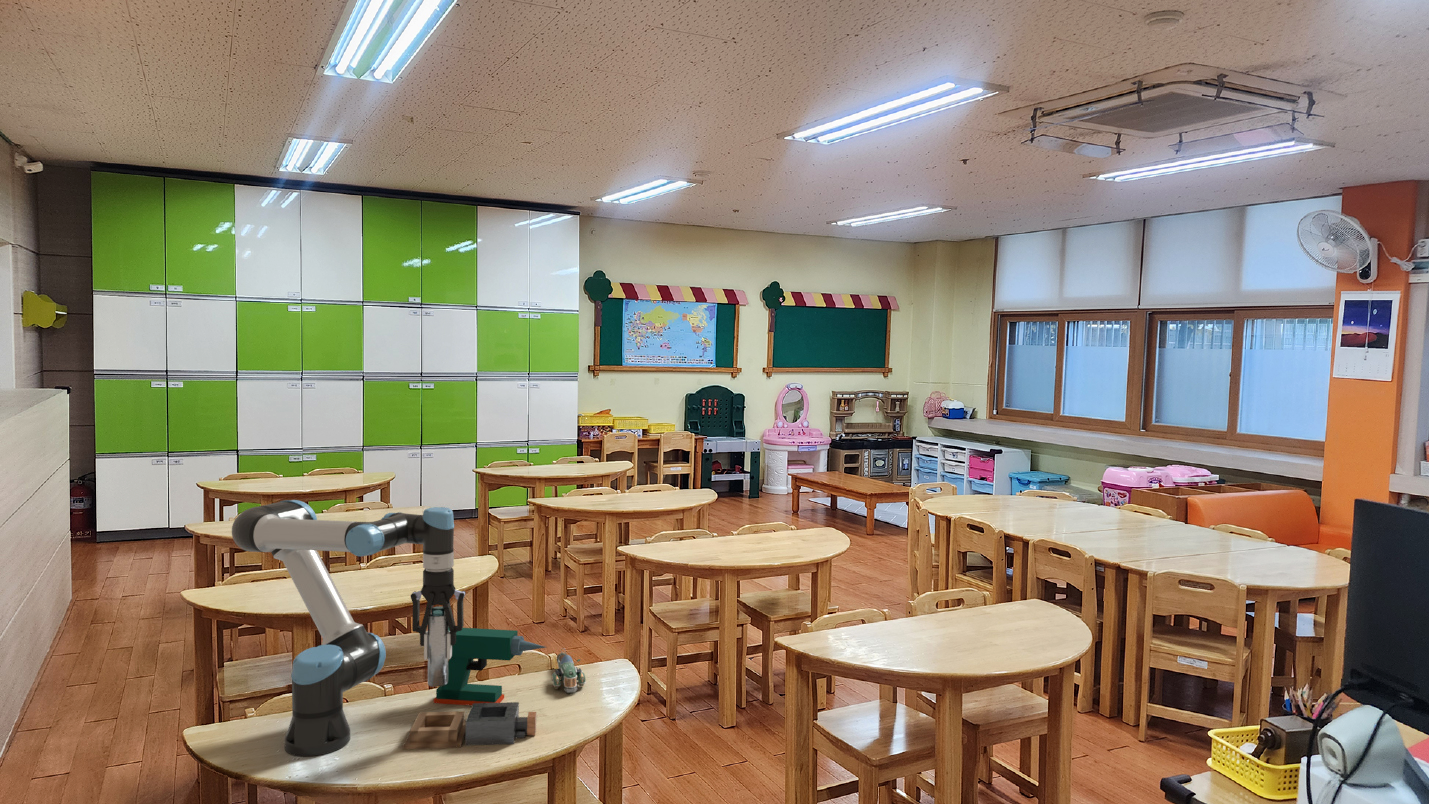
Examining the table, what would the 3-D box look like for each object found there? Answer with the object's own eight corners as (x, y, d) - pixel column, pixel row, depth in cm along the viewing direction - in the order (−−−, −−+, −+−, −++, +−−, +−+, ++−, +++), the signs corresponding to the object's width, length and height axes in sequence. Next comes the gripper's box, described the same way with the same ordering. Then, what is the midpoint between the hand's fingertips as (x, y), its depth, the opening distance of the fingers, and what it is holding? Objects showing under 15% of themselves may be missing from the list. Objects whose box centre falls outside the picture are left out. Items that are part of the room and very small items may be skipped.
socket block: (465, 745, 221) (465, 722, 220) (472, 725, 233) (473, 703, 232) (523, 743, 222) (523, 720, 222) (527, 723, 234) (527, 701, 234)
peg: (425, 686, 222) (426, 611, 221) (430, 679, 227) (430, 605, 226) (446, 686, 223) (446, 611, 222) (449, 679, 228) (450, 605, 227)
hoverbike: (554, 697, 253) (555, 669, 253) (546, 667, 277) (546, 641, 277) (587, 694, 256) (588, 666, 256) (576, 664, 280) (576, 639, 279)
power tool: (550, 700, 251) (551, 631, 250) (543, 709, 244) (544, 639, 243) (443, 693, 254) (444, 626, 253) (433, 703, 247) (433, 633, 246)
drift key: (504, 736, 226) (505, 718, 226) (506, 730, 230) (506, 712, 229) (535, 735, 227) (535, 717, 227) (536, 729, 230) (536, 711, 230)
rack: (403, 749, 218) (403, 733, 218) (415, 725, 232) (415, 710, 232) (460, 747, 220) (460, 731, 219) (469, 723, 233) (469, 709, 233)
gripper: (398, 572, 219) (398, 663, 220) (472, 571, 221) (471, 661, 222) (405, 565, 226) (405, 653, 227) (476, 564, 228) (476, 651, 229)
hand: (438, 657), depth 225 cm, fingers closed on peg, 5 cm apart
